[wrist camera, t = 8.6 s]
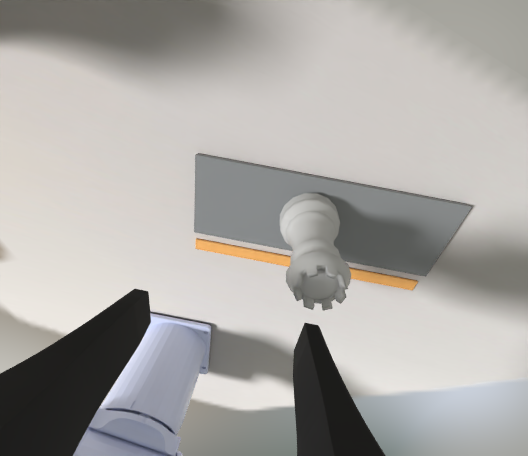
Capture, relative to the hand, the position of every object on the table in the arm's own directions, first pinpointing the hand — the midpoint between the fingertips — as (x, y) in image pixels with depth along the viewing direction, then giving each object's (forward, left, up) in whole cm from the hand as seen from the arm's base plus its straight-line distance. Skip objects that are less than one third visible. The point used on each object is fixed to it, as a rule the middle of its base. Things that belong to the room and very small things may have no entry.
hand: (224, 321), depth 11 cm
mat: (+2, -5, -10) cm, 11 cm away
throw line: (-3, -5, -10) cm, 12 cm away
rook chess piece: (+2, -4, -10) cm, 11 cm away
